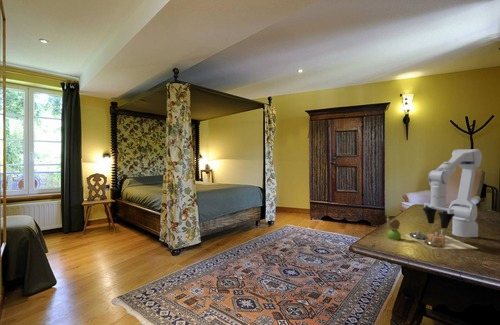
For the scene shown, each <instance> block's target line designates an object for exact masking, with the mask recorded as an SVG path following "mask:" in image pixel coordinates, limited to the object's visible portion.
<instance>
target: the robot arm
mask: <svg viewBox="0 0 500 325" xmlns="http://www.w3.org/2000/svg"><path fill="white" fill-rule="evenodd" d="M482 158H483V155H482V151H481V150H480V149H479V148H475V149H474V148H473V149H471V148H470V149H464V148H463V149H458V148H456V149H454V150H453V151H452V153H451V157H450V159H449V160H448V161H443V162H442V163H441V164H440V165H439V166H437V168H436V169H435V170H434V169H433V170H431V171H429V172H428V176H427V179H428V184H429V187H430V194H429V195H430V199H429V202H424V203H423V208H422V211H423V212H424V214H425V216H426V219H427V223H428V224H434V223H435V216H436V213H437V211H439V212H438V213H437V214H438V216H439V218H440V226H441V228H440V229H448V228H449V225H450V222H451V220H452V228H451V230H452V231H451V234H452V235H453V236H456V237H462V238H478V237H479V224H478V222H476V219H477V217H478V206H477V205H476V204H475V203H474V202H472V201H471V200H472V194H473V188H474V183H475V177H476V170H477V168H480V167H481V165H482V164H481V163H482V160H483V159H482ZM457 167H459V168H461V177H460V182H459V188H458V194H457V198H456V199H455V200H452V201H450V205H449V206H447V184H448V183H449V182H450V180H451V178H452V174H453V173H454V172H456V170H457Z"/></svg>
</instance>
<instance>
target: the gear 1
mask: <svg viewBox="0 0 500 325" xmlns="http://www.w3.org/2000/svg"><path fill="white" fill-rule="evenodd" d="M409 235H410V236H411V237H412V238H415V239H420V240H426V239H428V236H426V235H427V234H423V233H421V232H420V235H417V232H410V233H409ZM412 238H411V239H412Z"/></svg>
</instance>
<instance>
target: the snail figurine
mask: <svg viewBox="0 0 500 325" xmlns="http://www.w3.org/2000/svg"><path fill="white" fill-rule="evenodd" d="M389 217H390V216H389V215H386V222H387V227H388V228H389V229H390V230H388V231H387V238H388V239H390V240H393V241H399V240H401V237H402V236H401V233H400V231H399V229H400V225H401V223H400V221H399V220H398V219H395V218H394V219H392V220H391V219H390V218H389Z"/></svg>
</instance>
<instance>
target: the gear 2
mask: <svg viewBox="0 0 500 325" xmlns="http://www.w3.org/2000/svg"><path fill="white" fill-rule="evenodd" d="M424 243H426V245H430V246H432V247H437V248H439V247H442V248H444V247H445V243H443V242H440V241H438V240H436V243H434V241H432V239H430V240H427V239H426V240H424ZM426 245H425V246H426Z"/></svg>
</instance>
